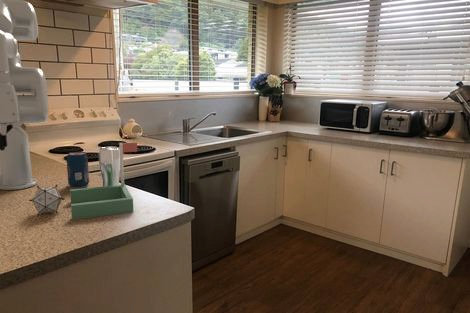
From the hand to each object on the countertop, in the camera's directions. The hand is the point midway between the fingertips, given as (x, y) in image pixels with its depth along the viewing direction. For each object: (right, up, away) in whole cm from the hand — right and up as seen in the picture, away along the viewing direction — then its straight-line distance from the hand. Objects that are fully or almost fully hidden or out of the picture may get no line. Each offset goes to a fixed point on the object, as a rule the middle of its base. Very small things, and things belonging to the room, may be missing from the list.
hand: (0, 149), depth 97 cm
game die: (+9, -18, +8) cm, 22 cm away
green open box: (+24, -17, +15) cm, 33 cm away
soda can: (+6, -13, +35) cm, 38 cm away
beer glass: (+19, -14, +30) cm, 38 cm away
